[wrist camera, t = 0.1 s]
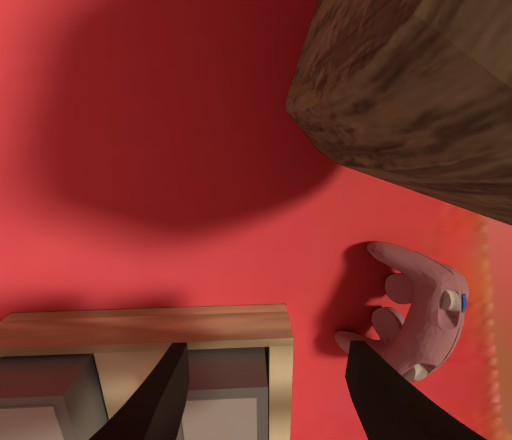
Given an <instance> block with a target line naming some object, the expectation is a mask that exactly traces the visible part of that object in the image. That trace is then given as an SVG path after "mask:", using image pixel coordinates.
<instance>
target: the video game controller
mask: <svg viewBox="0 0 512 440" xmlns="http://www.w3.org/2000/svg"><path fill="white" fill-rule="evenodd" d="M367 250H368V252H369V253H370V254H371V255H372V256H373V257H374V258H376V259H377V260H378V261H380V262H382V263H384V264H386V265H388V266H390V267H392V268H394V269H396V270H398V271H400V272H401V273H397V274H392V275H390V276H389V277H388V278H387V279H386V282H385V291H386V294H387V296H388V297H389V298H390V299H391V300H392V301H394V302H396V303H399V304H409V303H411V306H410V309H409V312H408V314H407V316H406V319H405V320H404V318H403V317H402V315H401V314H400V313H399V312H398V311H397V310H395V309H394V308H391V307H383V308H378V309H376V310H375V311H374V312H373V314H372V318H371V320H372V325H373V327H374V329H375V330H376V332H377V333H378V335H379V337H380V340H373V339H369V338H367V337H364V336H361V335H359V334H356V333H352V332H348V331H337V332H336V333H335V335H334V338H335V341H336V343H337V344H338V346H339V347H340V348H341V349H342V350H343V351H344V352H346V353H347V354H349V348H350V341H356V340H364V341H365V342H366V343H367V344H368V345H370V346H371V347H372V348H373V349H374V350H375V351H376V352H377V353H378V354H379V355H380V356H381V357H382V358H383V359H384V360H385V361H386V362H387V363H388V364H390V365H391V366H392V367H393V368H394V369H395V370H396V371H397V372H398V373H399V374H400V375H402V376H403V377H404V378H405V379H406V380H407V381H408V382H414V381H417V380H421V379H423V378H425V377H426V376H427V375H429V374H431V373H432V372H434V371H435V370H436V369H438V368H439V367H440V366H441V365H442V364H443V363H444V362H445V361H446V359H447V358H448V357H449V356H450V354H451V353H452V351H453V349H454V348H455V346H456V343H457V341H458V339H459V336H460V333H461V330H462V326H463V322H464V315H465V309H466V306H467V300H468V297H469V289H468V285H467V282H466V280H465V278H464V277H463V276H462V275H461V274H460V273H459V272H458V271H457V270H456V269H454V268H452V267H450V266H448V265H445V264H440V263H438V262H437V261H435V260H433V259H431V258H429V257H427V256H424V255H422V254H420V253H417V252H415V251H412V250H409V249H406V248H404V247H400V246H397V245H394V244H390V243H385V242H379V241H374V242H371V243H369V244H368V245H367Z"/></svg>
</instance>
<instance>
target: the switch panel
mask: <svg viewBox="0 0 512 440" xmlns="http://www.w3.org/2000/svg"><path fill="white" fill-rule="evenodd" d="M293 339H294V338H293V334H292V329H291V325H290V321H289V317H288V313H287V308H286V304H268V305H237V306H207V307H176V308H146V309H115V310H85V311H55V312H24V313H10V314H9V315H8V316H7V317H5V318H4V319H3V320H1V321H0V360H1V359H2V358H3V357H9V356H35V355H62V354H88V353H94V357H95V361H96V366H97V370H98V374H99V379H100V383H101V387H102V392H103V396H104V400H105V405H106V409H107V413H108V418H109V419H110V418H111V417H112V416H113V415H114V414H115V413H116V412H117V411H118V410H119V409H120V408H121V407H122V406H123V405H124V404H125V403H126V401H127V400H128V399H129V398H130V397H131V396H132V394H133V393H134V392H135V391H136V390H137V389H138V388H139V386H140V385H141V384H142V383H143V382H144V380H145V379H146V378H147V376H148V375H149V374H150V373H151V371H152V370H153V369H154V367H155V366H156V365H157V363H158V362H159V361H160V359H161V358H162V357H163V355H164V354H165V352H166V351H167V349H168V348H169V346H170V345H171V344H172V343H180V342H187V347H188V350H193V349H220V348H246V347H264V350H265V360H266V371H267V382H268V440H290V423H291V395H292V367H293Z"/></svg>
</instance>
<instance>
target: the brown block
mask: <svg viewBox="0 0 512 440" xmlns="http://www.w3.org/2000/svg"><path fill="white" fill-rule="evenodd" d="M108 420H109V418H108V413H107V409H106V405H105V400H104V396H103V392H102V387H101V383H100V379H99V374H98V370H97V366H96V361H95V357H94V353H88V354H62V355H35V356H9V357H3V358H2V359H1V360H0V440H89V439H90V438H91V437H92V436H93V435H94V434H95V433H96V432H97V431H98V430H99V429H100V428H101V427H102V426H103V425H104V424H105V423H106V422H107V421H108Z"/></svg>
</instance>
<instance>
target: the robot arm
mask: <svg viewBox="0 0 512 440" xmlns="http://www.w3.org/2000/svg"><path fill="white" fill-rule="evenodd" d="M345 378H346V382H347V385H348V389H349V392H350V395H351V398H352V402H353V404H354V406H355V409H356V411H357V414H358V416H359V418H360V421H361V423H362V426H363V428H364V430H365V433H366V435H367V437H368V440H486V439H485V438H483V437H482V436H480V435H479V434H477V433H476V432H474V431H473V430H471V429H470V428H468V427H467V426H465V425H464V424H462V423H461V422H459V421H458V420H456V419H455V418H454V417H452V416H451V415H450V414H448V413H447V412H446V411H444V410H443V409H442V408H440V407H439V406H437V405H436V404H435V403H434V402H432V401H431V400H430V399H429V398H427V397H426V396H425V395H424V394H423V393H421V392H420V391H419V390H418V389H416V388H415V387H414V386H413V385H412V384H411V383H409V382H408V381H407V380H406V379H405V378H404V377H403V376H402V375H400V374H399V373H398V372H397V371H396V370H395V369H394V368H393V367H392V366H391V365H390V364H388V363H387V362H386V361H385V360H384V359H383V358H382V357H381V356H380V355H379V354H378V353H377V352H376V351H375V350H374V349H373V348H372V347H371V346H370V345H368V344H367V343H366V342H365V341H364V340H356V341H350V348H349V354H348V361H347V368H346V375H345ZM189 380H190V378H189V362H188V347H187V342H180V343H172V344H171V345H170V346H169V348H168V349H167V351H166V352H165V354H164V355H163V357H162V358H161V359H160V361H159V362H158V363H157V365H156V366H155V367H154V369H153V370H152V371H151V373H150V374H149V375H148V376H147V378H146V379H145V380H144V382H143V383H142V384H141V385H140V386H139V388H138V389H137V390H136V391H135V392H134V393H133V394H132V396H131V397H130V398H129V399H128V400H127V401H126V403H125V404H124V405H123V406H122V407H121V408H120V409H119V410H118V411H117V412H116V413H115V414H114V415H113V416H112V417H111V418H110V419H109V420H108V421H107V422H106V423H105V424H104V425H103V426H102V427H101V428H100V429H99V430H98V431H97V432H96V433H95V434H94V435H93V436H92V437H91V438H90V439H89V440H176V439H177V435H178V431H179V428H180V424H181V420H182V416H183V413H184V409H185V405H186V399H187V393H188V387H189Z"/></svg>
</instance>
